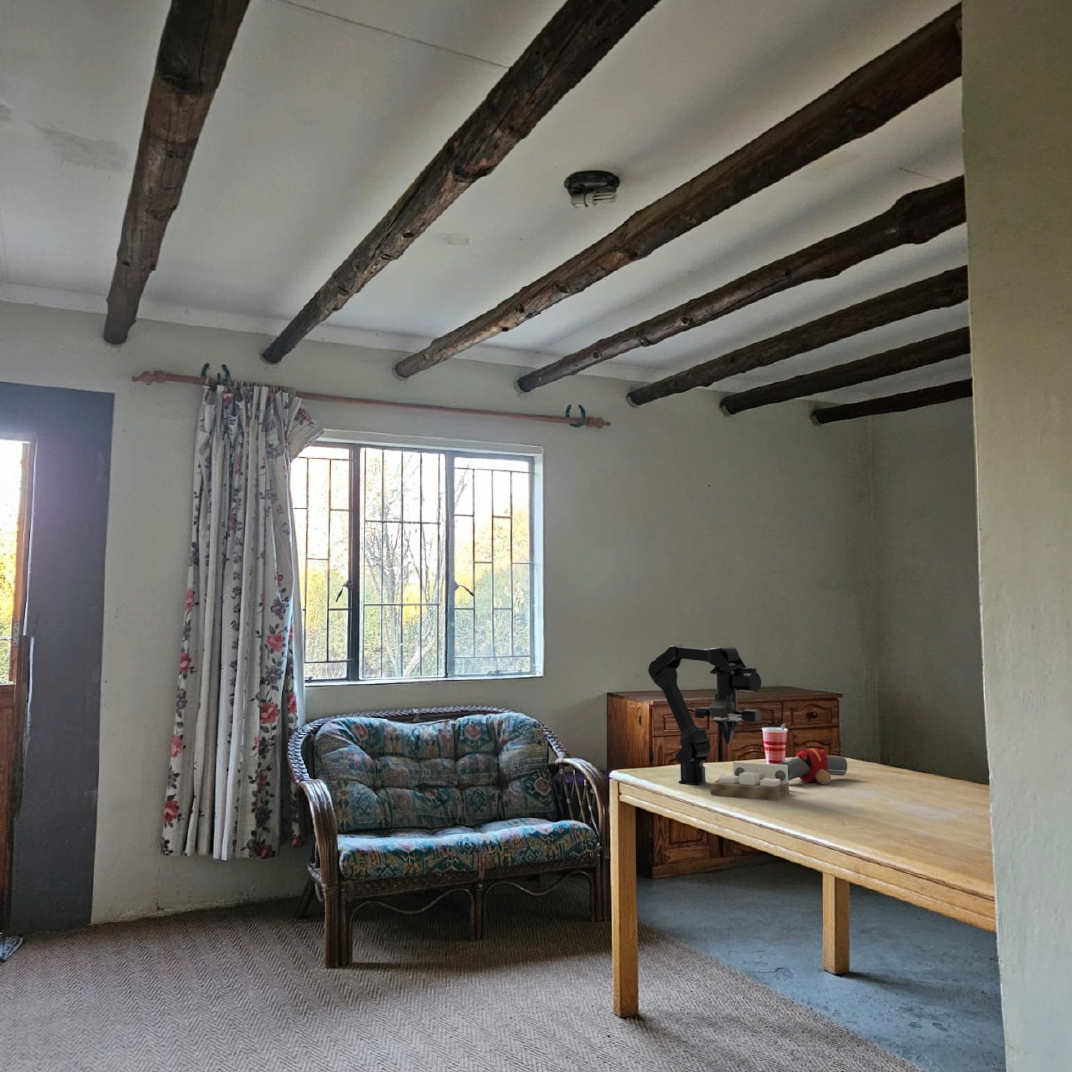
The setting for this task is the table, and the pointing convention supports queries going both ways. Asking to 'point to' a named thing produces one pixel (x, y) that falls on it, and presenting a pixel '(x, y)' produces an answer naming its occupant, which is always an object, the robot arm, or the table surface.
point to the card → (762, 770)
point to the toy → (815, 766)
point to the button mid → (749, 778)
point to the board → (750, 790)
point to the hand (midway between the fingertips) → (728, 743)
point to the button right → (770, 782)
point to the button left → (729, 779)
